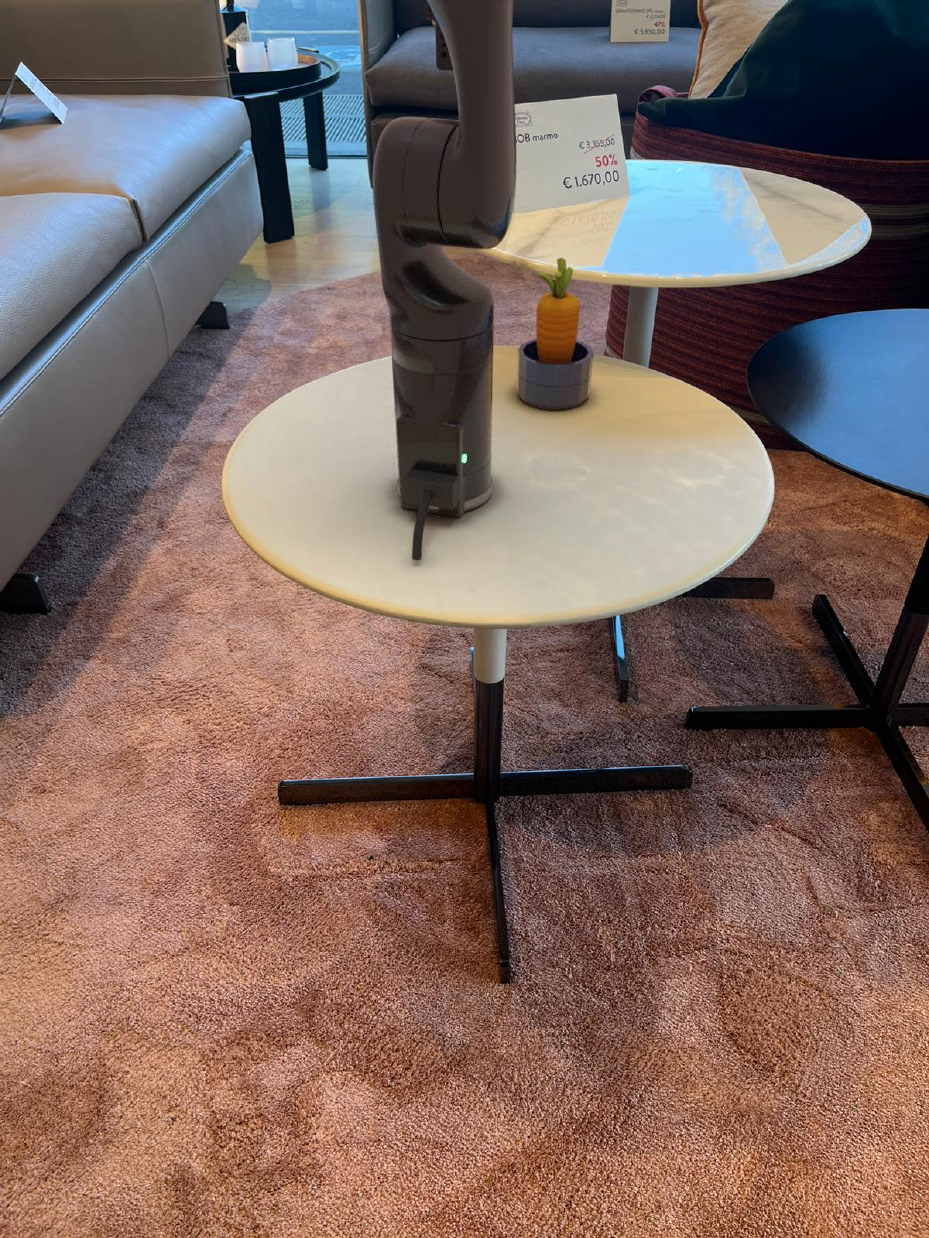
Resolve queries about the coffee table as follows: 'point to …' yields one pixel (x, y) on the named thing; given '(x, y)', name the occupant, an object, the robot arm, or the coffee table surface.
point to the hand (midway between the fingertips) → (460, 64)
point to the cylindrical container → (554, 378)
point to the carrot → (557, 318)
